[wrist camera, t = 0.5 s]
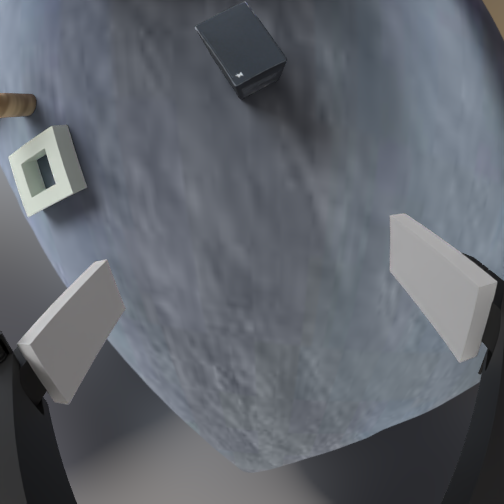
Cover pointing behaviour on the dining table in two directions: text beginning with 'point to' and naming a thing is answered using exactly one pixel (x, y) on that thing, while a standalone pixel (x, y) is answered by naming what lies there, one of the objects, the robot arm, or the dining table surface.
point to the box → (242, 49)
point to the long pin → (16, 104)
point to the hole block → (62, 167)
